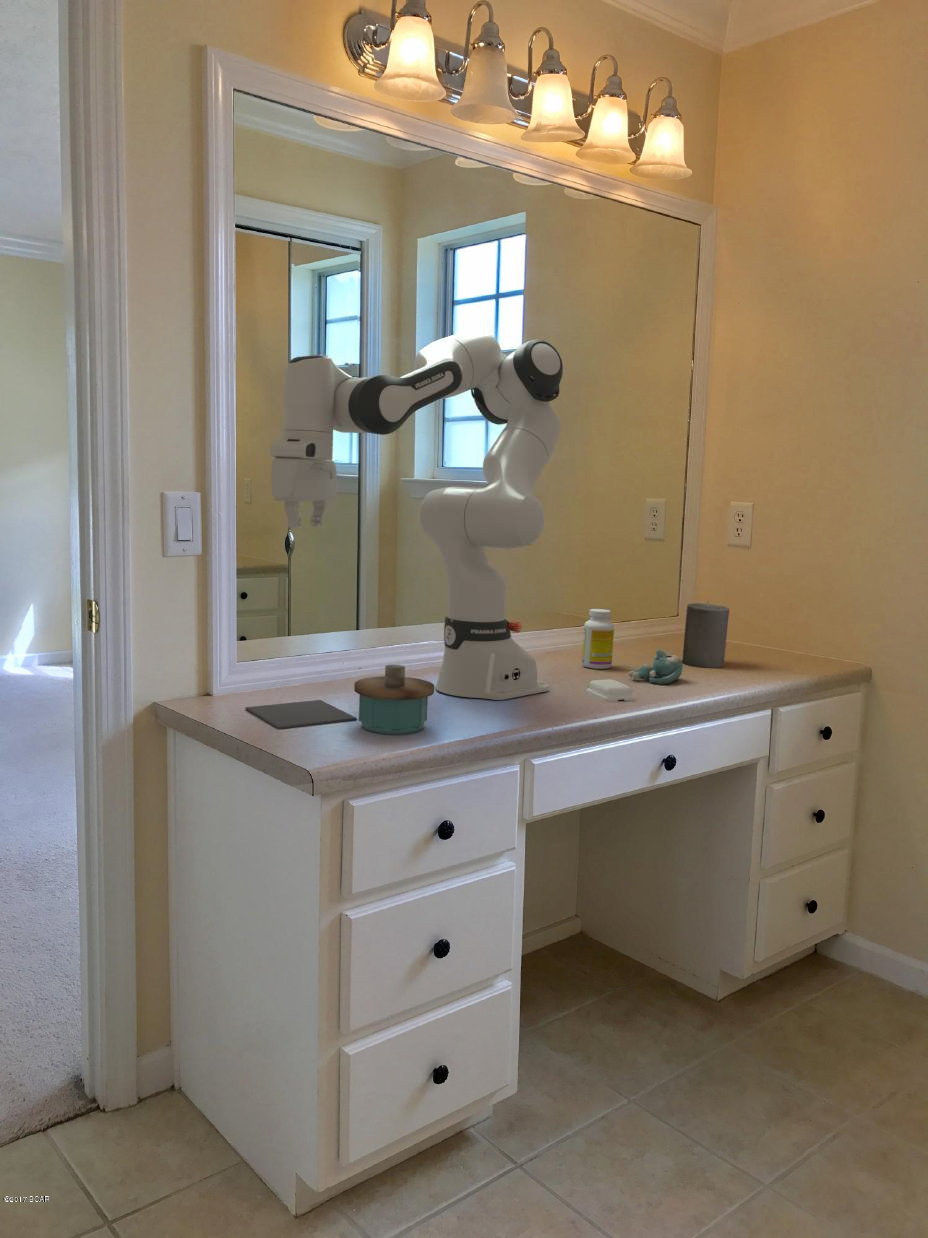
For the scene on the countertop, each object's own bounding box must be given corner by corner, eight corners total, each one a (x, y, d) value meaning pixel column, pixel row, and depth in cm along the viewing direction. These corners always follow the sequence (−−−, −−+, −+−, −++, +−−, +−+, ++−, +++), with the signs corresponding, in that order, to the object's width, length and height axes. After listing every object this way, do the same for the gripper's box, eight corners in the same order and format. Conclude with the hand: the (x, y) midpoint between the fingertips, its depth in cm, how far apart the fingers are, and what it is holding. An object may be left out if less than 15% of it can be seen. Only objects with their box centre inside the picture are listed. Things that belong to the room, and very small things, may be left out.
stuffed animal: (617, 651, 210) (666, 640, 213) (620, 683, 211) (669, 672, 214) (641, 661, 200) (692, 649, 203) (645, 694, 201) (695, 682, 204)
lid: (408, 679, 168) (409, 656, 168) (449, 695, 158) (450, 671, 157) (340, 685, 161) (341, 662, 160) (378, 703, 150) (379, 677, 150)
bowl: (404, 715, 167) (405, 681, 167) (436, 730, 159) (438, 694, 158) (349, 722, 162) (350, 686, 161) (380, 737, 153) (381, 700, 152)
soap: (636, 702, 188) (637, 687, 187) (605, 703, 185) (606, 688, 185) (613, 691, 196) (614, 677, 196) (583, 693, 194) (584, 678, 193)
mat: (320, 702, 175) (320, 699, 175) (356, 720, 163) (356, 717, 163) (245, 709, 167) (245, 707, 167) (278, 729, 155) (278, 726, 155)
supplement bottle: (617, 668, 218) (621, 611, 216) (595, 670, 215) (599, 613, 213) (597, 663, 224) (601, 607, 222) (575, 665, 220) (579, 608, 218)
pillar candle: (673, 662, 229) (678, 599, 226) (697, 658, 235) (703, 596, 233) (708, 670, 222) (714, 605, 219) (732, 665, 228) (738, 602, 226)
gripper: (315, 449, 183) (313, 524, 185) (264, 445, 163) (263, 528, 165) (346, 451, 181) (344, 526, 183) (299, 446, 162) (297, 530, 164)
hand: (305, 527), depth 174 cm, fingers open, 8 cm apart
